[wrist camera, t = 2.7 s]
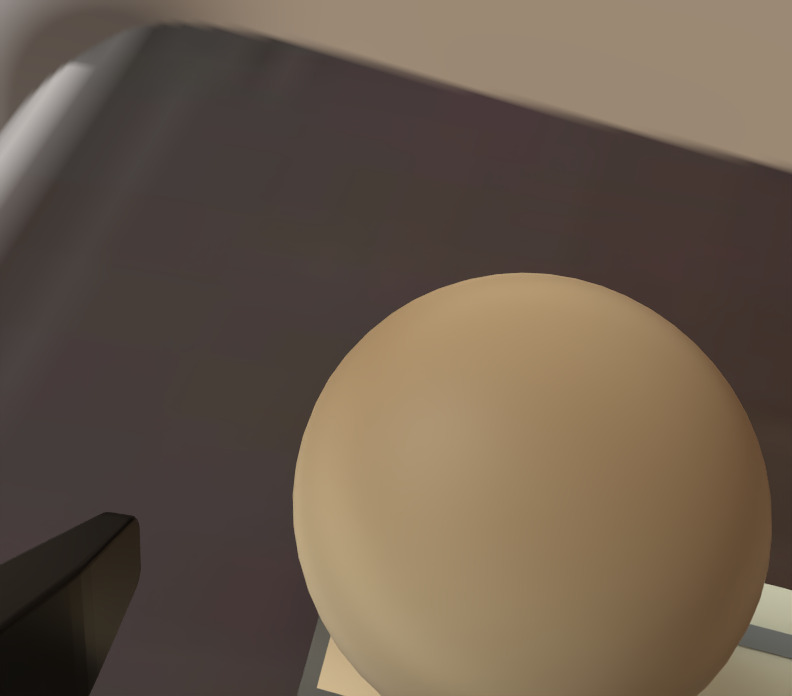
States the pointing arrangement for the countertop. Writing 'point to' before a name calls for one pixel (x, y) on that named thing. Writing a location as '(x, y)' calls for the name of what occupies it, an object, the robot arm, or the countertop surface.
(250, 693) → the countertop surface
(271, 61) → the countertop surface
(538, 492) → the hand stamp
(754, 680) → the marked board
